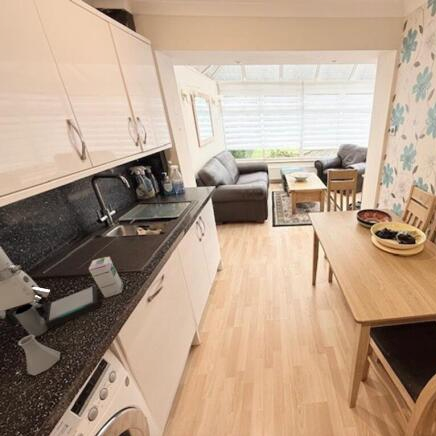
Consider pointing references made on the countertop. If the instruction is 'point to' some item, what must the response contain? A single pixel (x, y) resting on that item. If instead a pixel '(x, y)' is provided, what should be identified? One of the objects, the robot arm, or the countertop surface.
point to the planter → (31, 320)
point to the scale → (72, 306)
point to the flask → (38, 355)
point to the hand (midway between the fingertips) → (30, 318)
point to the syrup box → (106, 276)
